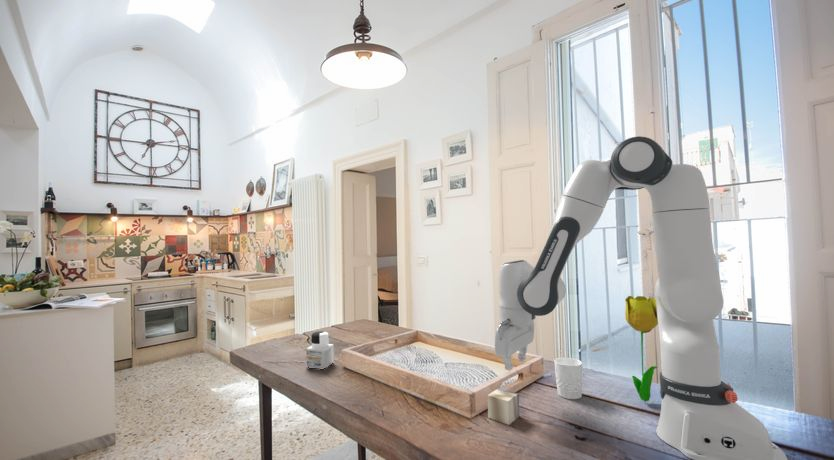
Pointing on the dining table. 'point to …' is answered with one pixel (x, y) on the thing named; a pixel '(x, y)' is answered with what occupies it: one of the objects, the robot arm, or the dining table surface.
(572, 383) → the white cup
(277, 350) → the dining table surface
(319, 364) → the container
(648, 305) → the flower
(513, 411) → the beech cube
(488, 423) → the dining table surface
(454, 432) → the dining table surface
